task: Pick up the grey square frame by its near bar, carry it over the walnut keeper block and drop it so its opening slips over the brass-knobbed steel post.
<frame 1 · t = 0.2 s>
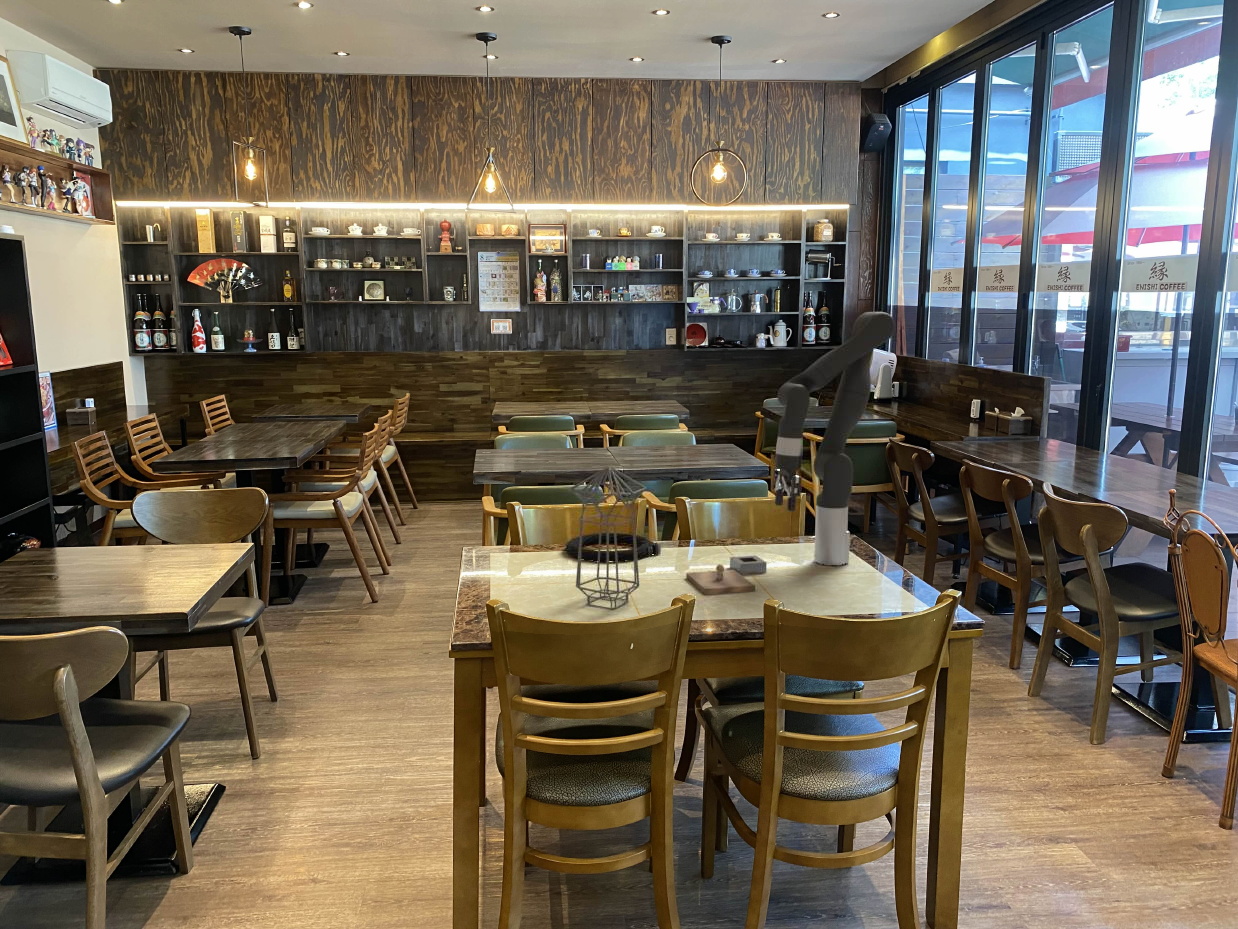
hand: (784, 507, 259), 17 cm above the table, tool pointing down, fingers open, 8 cm apart
keeper block: (719, 584, 242), on the table
geometric lantern: (608, 602, 227), on the table
grey square frame: (747, 569, 257), on the table
black studded ring: (612, 553, 278), on the table
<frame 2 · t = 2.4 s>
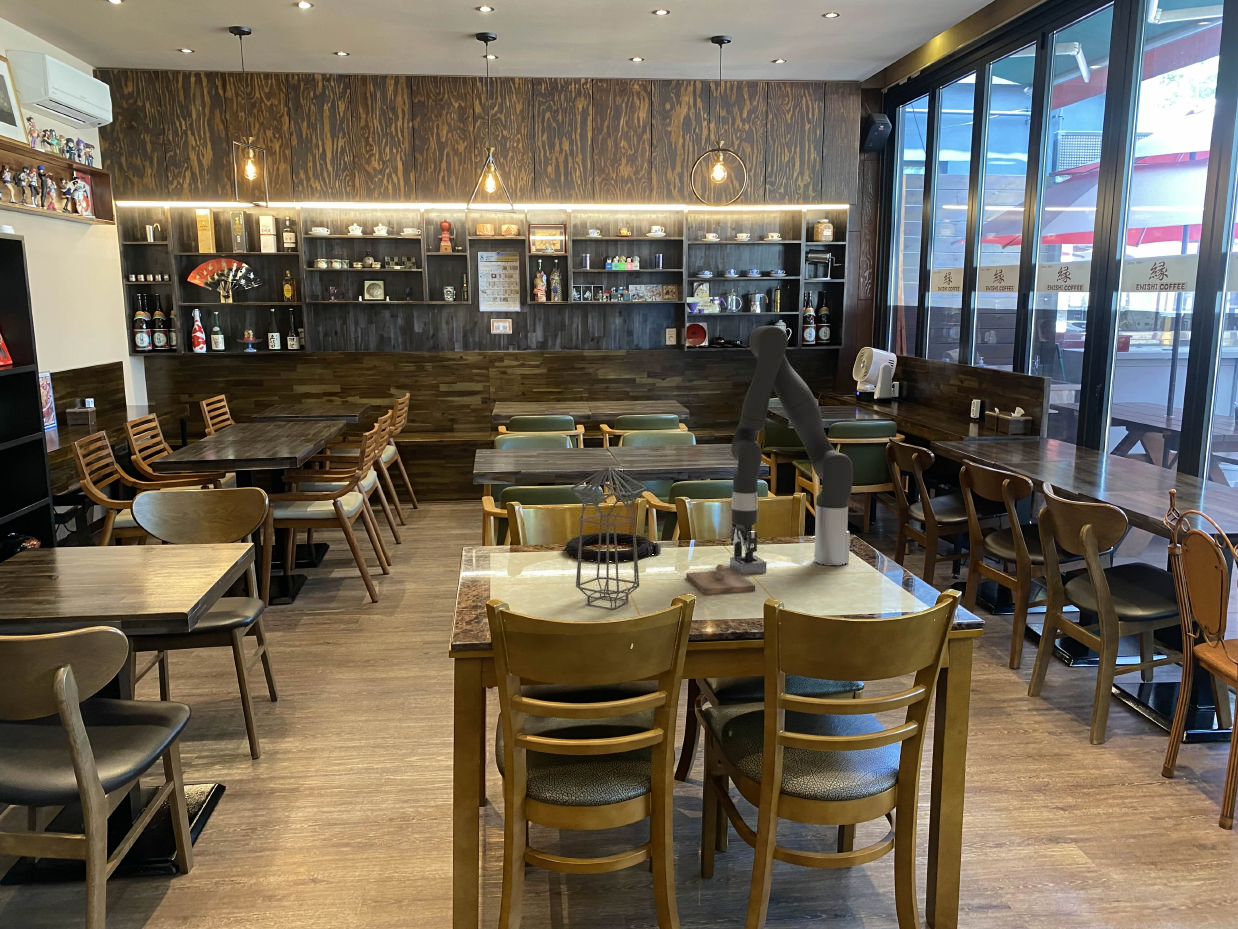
hand: (743, 561, 260), 2 cm above the table, tool pointing down, fingers open, 8 cm apart
grey square frame: (747, 569, 257), on the table, touching gripper
everything else where it was.
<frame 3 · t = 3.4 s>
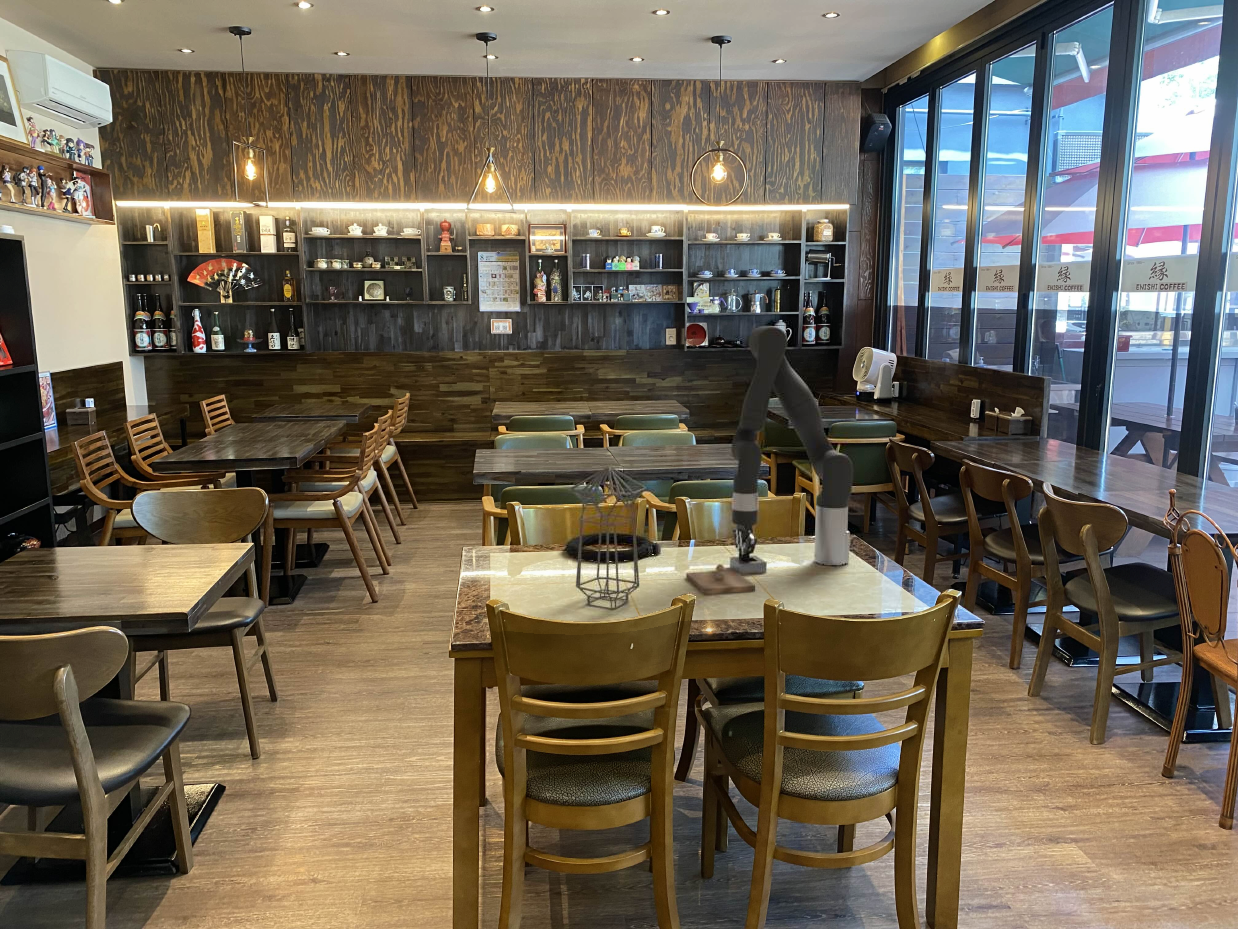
hand: (743, 565, 260), 1 cm above the table, tool pointing down, fingers closed on grey square frame, 2 cm apart
grey square frame: (747, 569, 257), on the table, touching gripper
everything else where it was.
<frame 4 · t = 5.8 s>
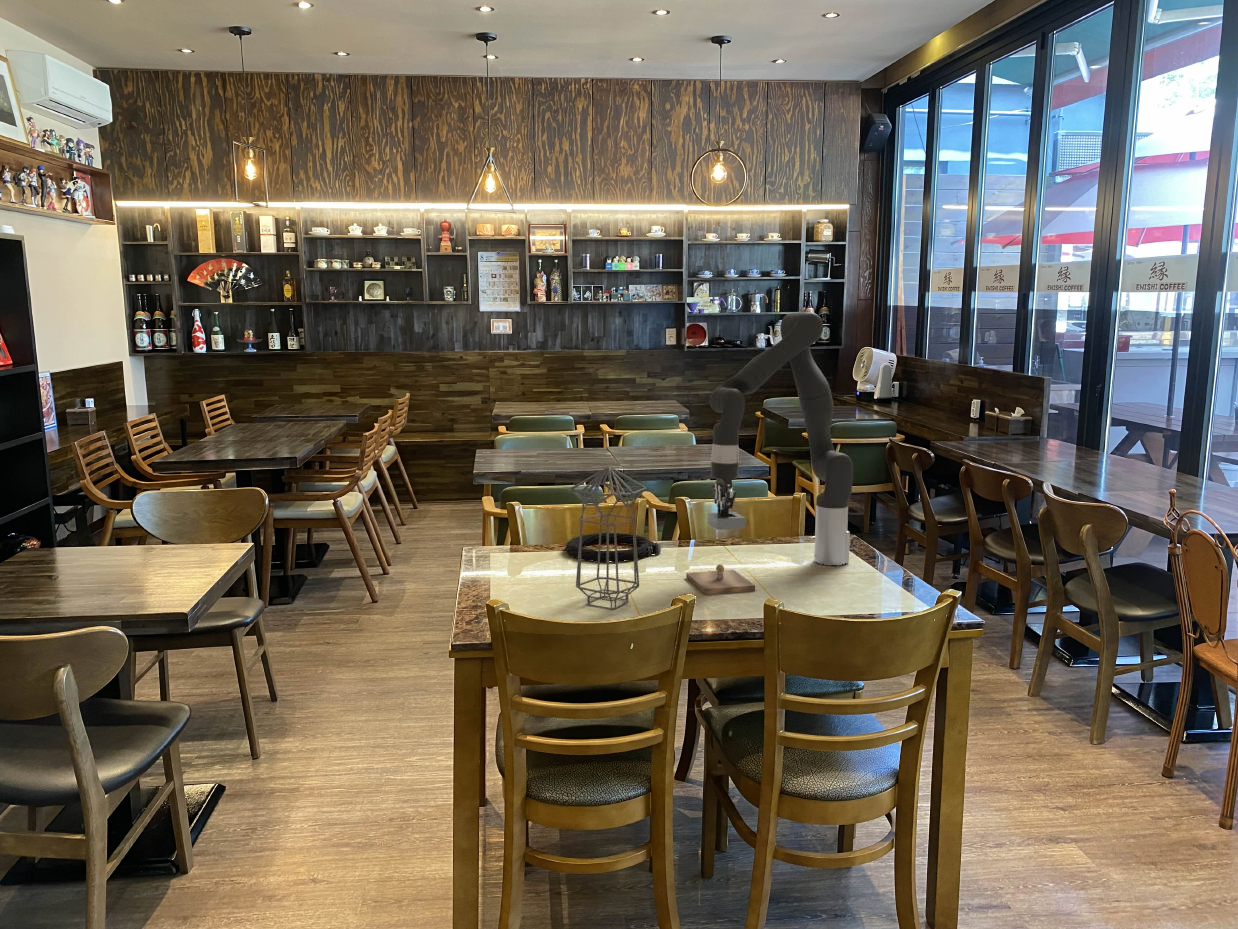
hand: (722, 521, 247), 16 cm above the table, tool pointing down, fingers closed on grey square frame
grey square frame: (726, 526, 245), point 15 cm above the table, touching gripper
everything else where it was.
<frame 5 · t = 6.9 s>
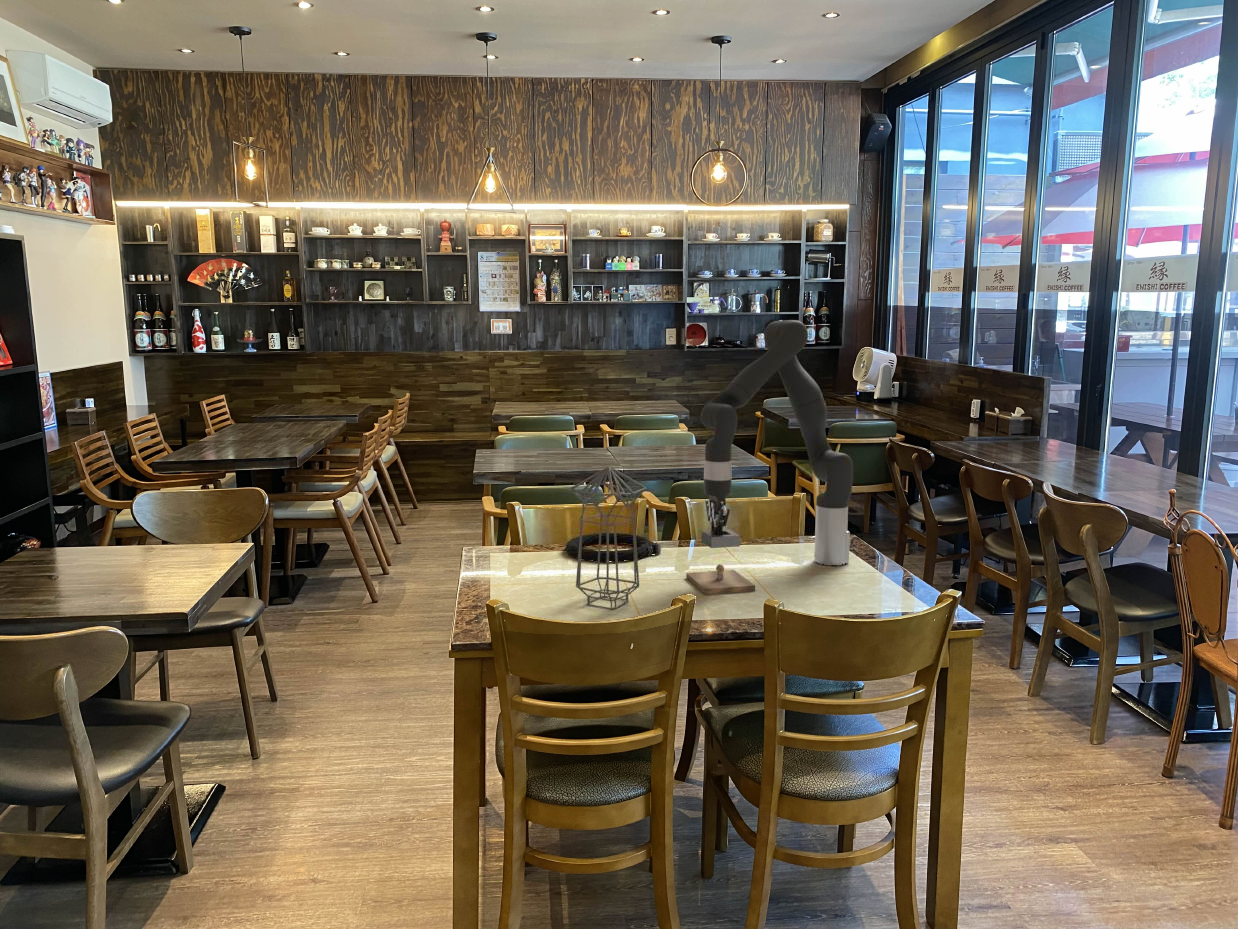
hand: (716, 539, 244), 12 cm above the table, tool pointing down, fingers closed on grey square frame
grey square frame: (720, 543, 241), point 11 cm above the table, touching gripper
everything else where it was.
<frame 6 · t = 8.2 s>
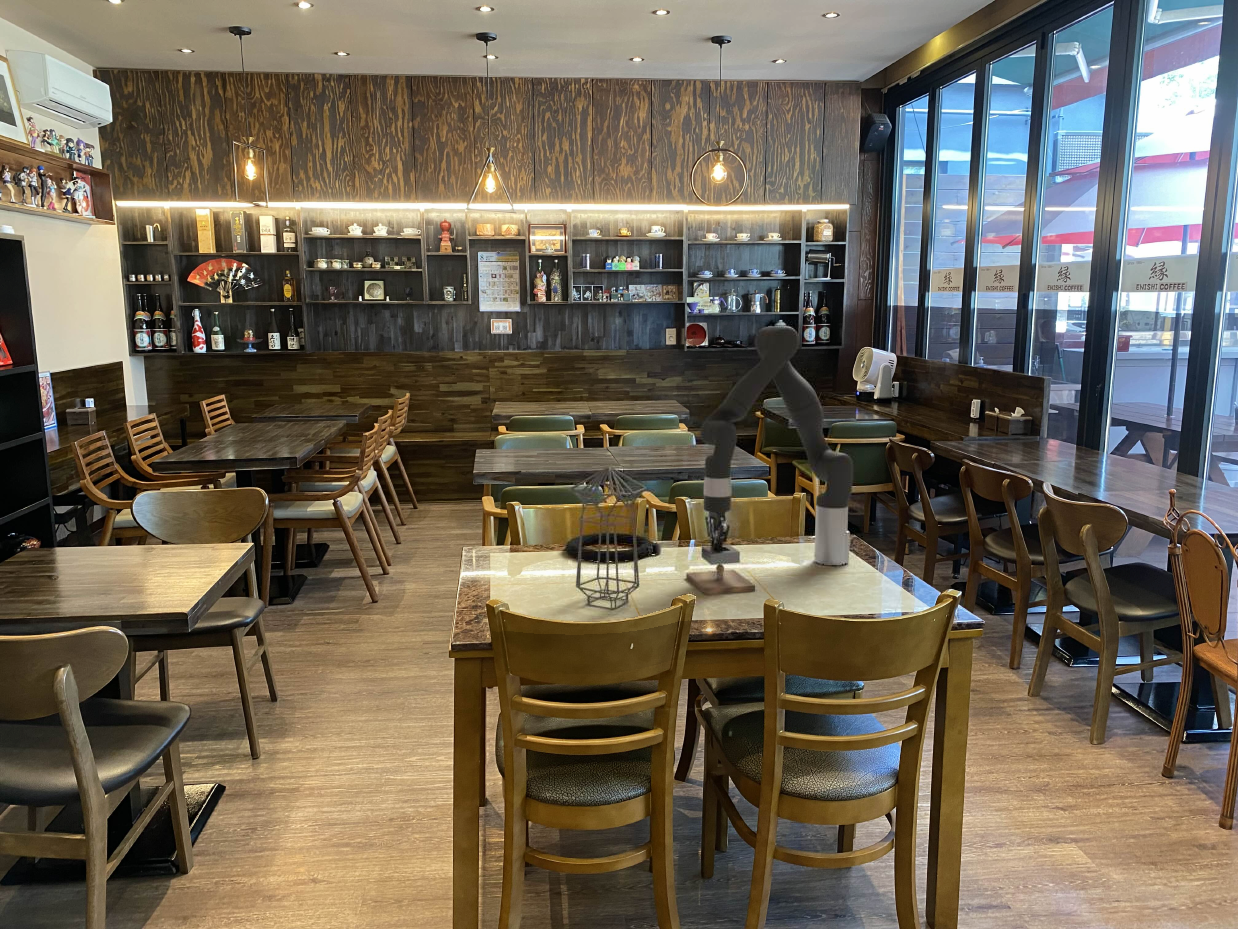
hand: (716, 554, 244), 7 cm above the table, tool pointing down, fingers closed on grey square frame
grey square frame: (720, 560, 241), point 7 cm above the table, touching gripper
everything else where it was.
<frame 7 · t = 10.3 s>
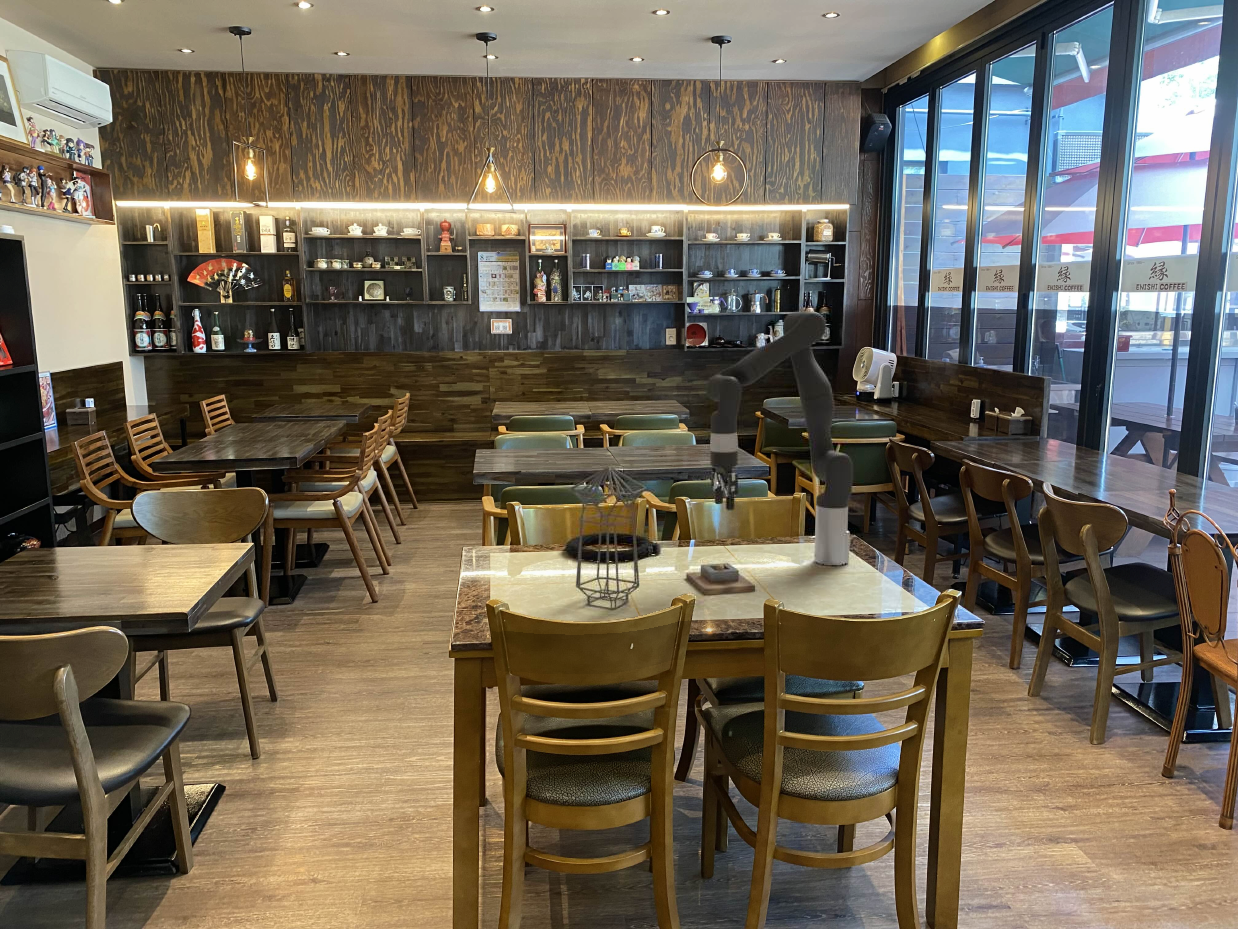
hand: (724, 506, 246), 20 cm above the table, tool pointing down, fingers open, 8 cm apart
grey square frame: (719, 578, 243), point 1 cm above the table, touching keeper block
everything else where it was.
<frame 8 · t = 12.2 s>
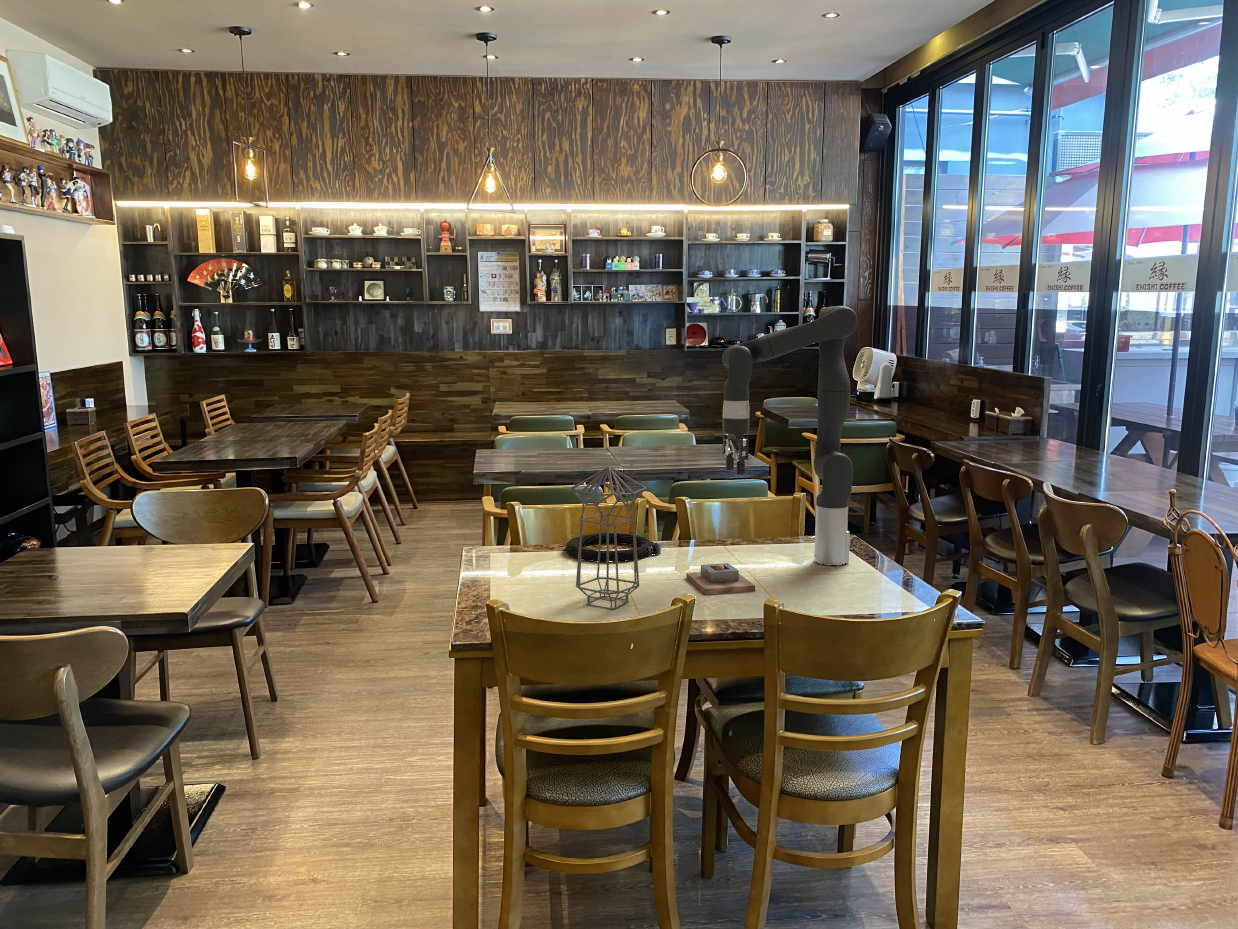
hand: (734, 472, 256), 28 cm above the table, tool pointing down, fingers open, 8 cm apart
nothing on the table moved.
at the end: grey square frame 0.7 cm from the keeper block (horizontally); grey square frame point 1.5 cm above the table; the gripper is holding nothing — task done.
